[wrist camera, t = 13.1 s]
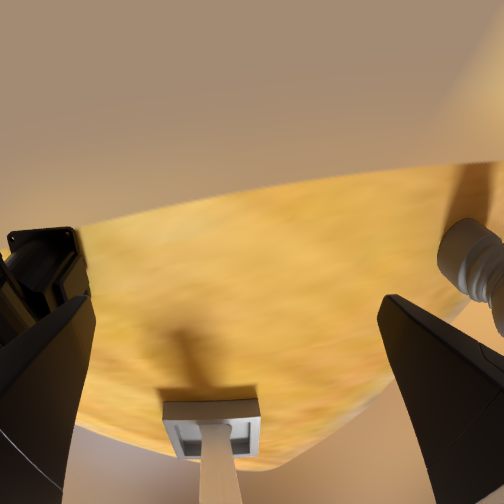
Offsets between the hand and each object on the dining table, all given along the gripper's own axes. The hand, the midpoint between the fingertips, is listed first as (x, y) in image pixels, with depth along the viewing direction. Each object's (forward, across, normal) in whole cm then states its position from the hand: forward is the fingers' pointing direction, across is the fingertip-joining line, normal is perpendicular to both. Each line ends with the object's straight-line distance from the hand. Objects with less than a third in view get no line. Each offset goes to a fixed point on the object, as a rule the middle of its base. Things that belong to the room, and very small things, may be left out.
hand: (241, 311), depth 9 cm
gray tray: (+13, +1, +28) cm, 31 cm away
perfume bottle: (+12, +1, +27) cm, 30 cm away
